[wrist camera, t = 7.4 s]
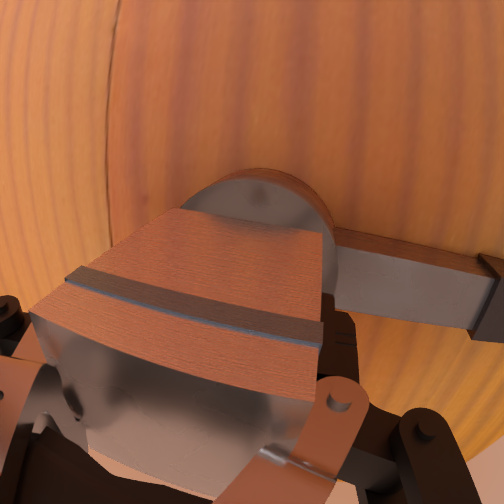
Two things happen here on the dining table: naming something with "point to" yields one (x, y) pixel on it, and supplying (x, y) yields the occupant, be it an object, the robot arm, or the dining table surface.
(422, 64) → the dining table surface
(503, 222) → the dining table surface
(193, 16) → the dining table surface
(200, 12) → the dining table surface
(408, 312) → the ratchet
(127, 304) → the silver block
